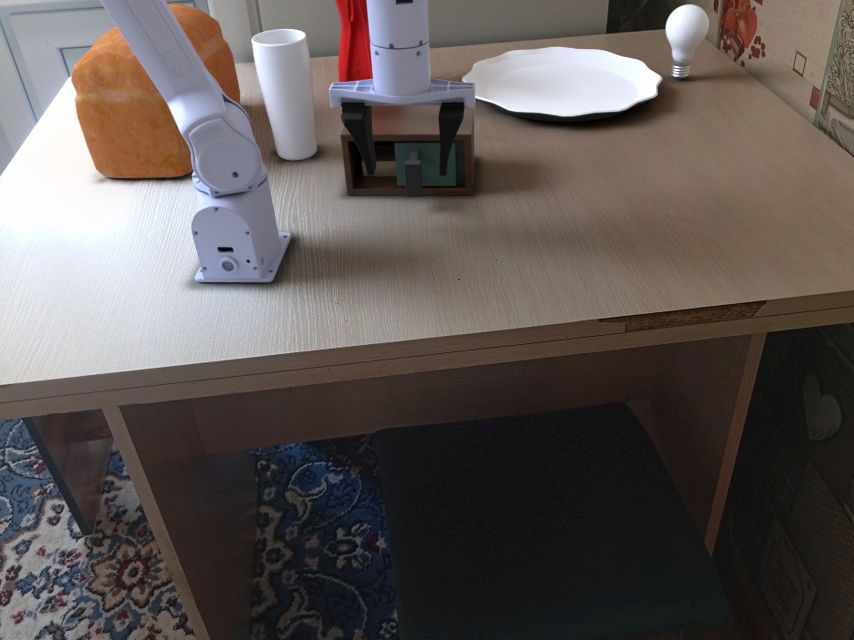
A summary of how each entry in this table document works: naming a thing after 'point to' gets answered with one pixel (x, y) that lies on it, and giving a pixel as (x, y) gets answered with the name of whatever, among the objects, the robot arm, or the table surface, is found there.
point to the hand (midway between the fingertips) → (407, 171)
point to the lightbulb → (685, 36)
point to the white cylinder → (287, 90)
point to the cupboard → (406, 127)
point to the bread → (142, 101)
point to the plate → (563, 83)
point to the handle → (422, 166)
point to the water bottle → (354, 41)
